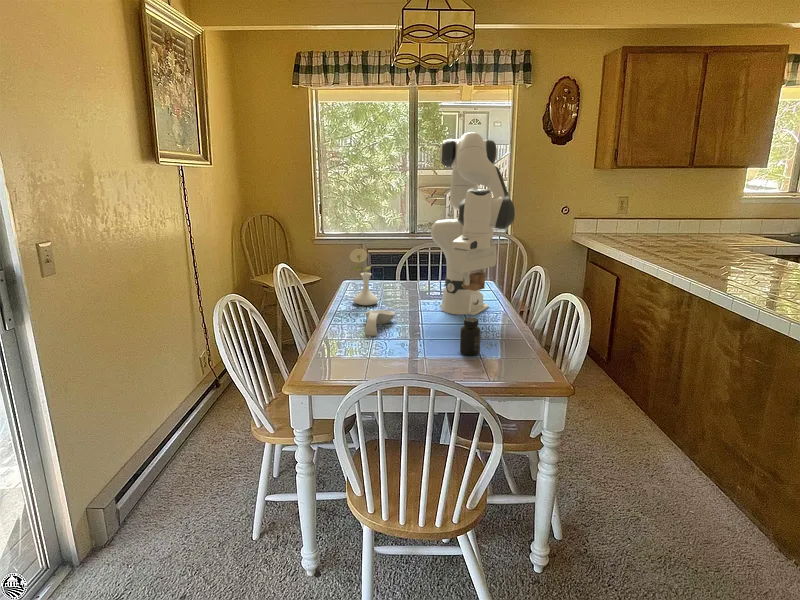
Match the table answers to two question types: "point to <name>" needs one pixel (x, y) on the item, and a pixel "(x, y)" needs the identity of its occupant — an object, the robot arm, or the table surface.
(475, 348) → the supplement bottle
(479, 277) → the walnut cube
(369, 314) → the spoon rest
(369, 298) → the flower in vase
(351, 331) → the table surface
